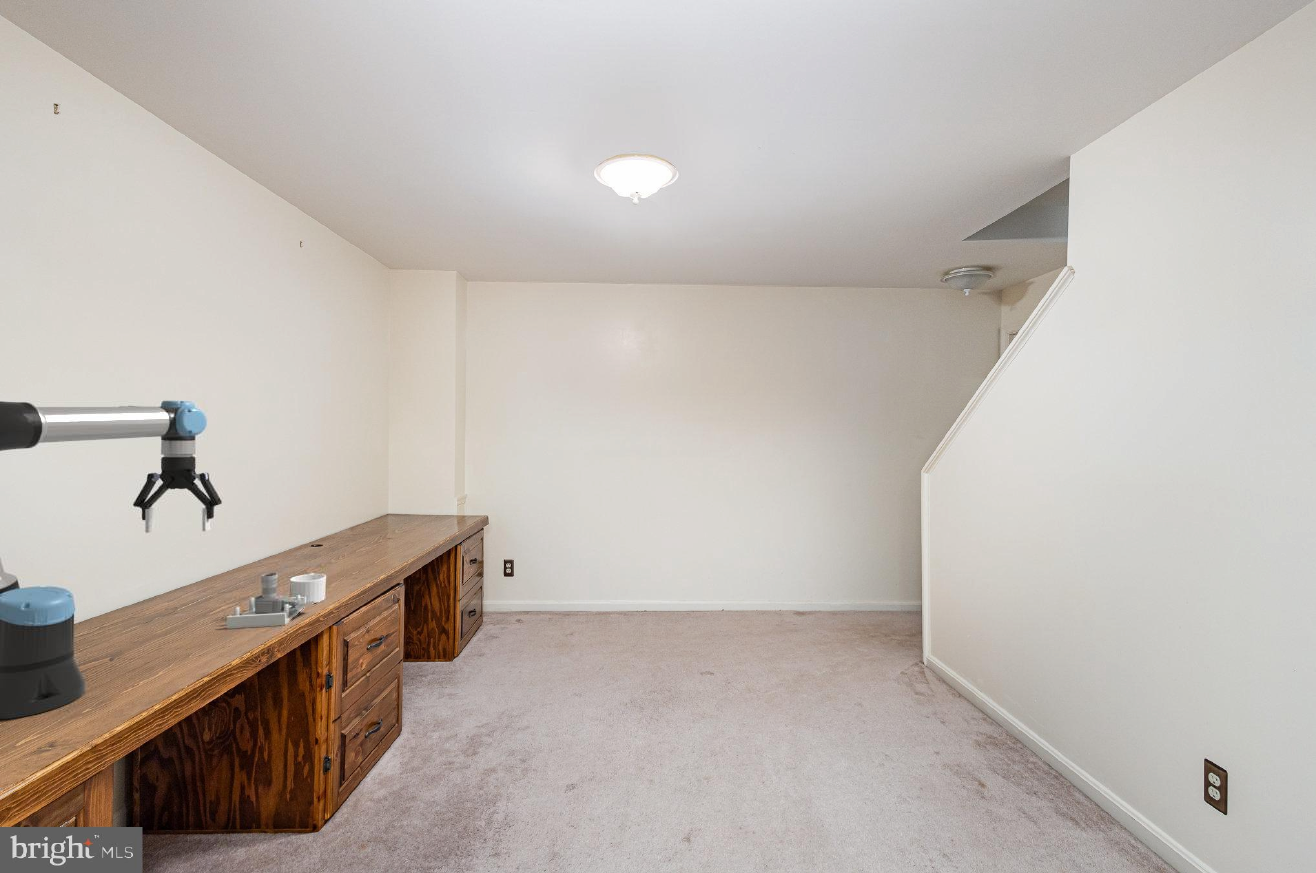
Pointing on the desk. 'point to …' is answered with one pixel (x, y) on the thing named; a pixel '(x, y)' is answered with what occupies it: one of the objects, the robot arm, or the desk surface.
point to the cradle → (262, 616)
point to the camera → (274, 598)
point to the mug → (309, 587)
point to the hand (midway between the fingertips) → (178, 531)
